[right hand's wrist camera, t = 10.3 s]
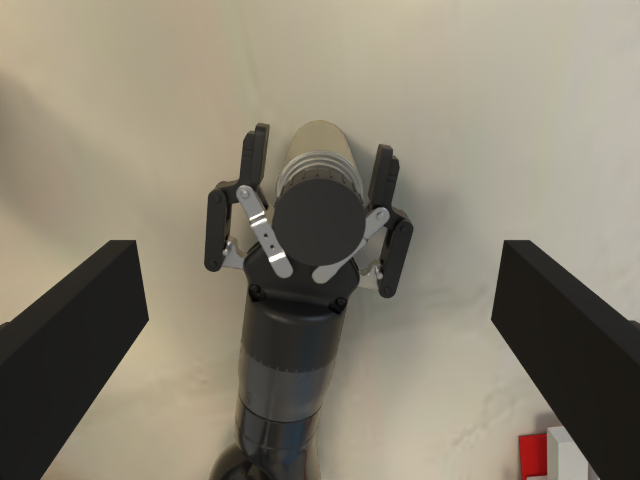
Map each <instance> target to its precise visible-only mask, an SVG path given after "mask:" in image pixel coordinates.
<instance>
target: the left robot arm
mask: <svg viewBox="0 0 640 480" xmlns="http://www.w3.org/2000/svg"><path fill="white" fill-rule="evenodd" d="M269 127H270V125H269V124H263V123H258V124H257V125H256V128H255V131H250V132H248V133H247V135H246V137H245V139H244V141H243V150H242V159H241V169H240V178H239V179H238V180H236V181H231V182H226V181H222V182H220V183H218V184H217V186H216V187H215V189H213V190H212V191H211V192H210V193H209V195H208V207H207V225H206V242H205V260H204V265H205V267H206V269H207V270H209V271H212V272H216V271H218V270H220V268H221V267H228V268H236V269H243V270H244V272H245V274H246V276H247V279H248V289H247V298H246V306H245V314H244V322H243V331H242V339H241V348H240V356H239V368H238V370H239V390H238V398H237V406H236V415H235V423H234V436H235V440H236V443H233V444H232V445H230V446H229V447H227V448H226V449H225V450H224V451H223V452H222V453H221V454H220V456H219V457H218V458H217V460H216V462H215V464H214V466H213V468H212V471H211V474H210V476H209V479H208V480H321V474H320V467H319V461H318V454H317V443H316V432H317V427H318V422H319V418H320V413H321V408H322V404H323V399H324V396H325V393H326V391H327V388H328V386H329V383H330V380H331V376H332V372H333V367H334V363H335V358H336V354H337V349H338V344H339V340H340V335H341V331H342V326H343V321H344V317H345V312H346V308H347V303H348V299H349V297H350V295H351V294H352V292H353V291H354V290H355V289H356V288H357V287H362V288H368V289H374V290H379V293H380V295H381V296H382V297H384V298H391V297H392V296H394V295H395V293H396V289H397V286H398V282H399V279H400V275H401V272H402V268H403V265H404V261H405V257H406V254H407V250H408V247H409V243H410V240H411V236H412V233H413V225H412V224H411V222H410V220H409V218H408V217H407V215H406V213H405V212H403V211H401V210H397V209H396V208H394V207H392V206H391V202H392V197H393V193H394V189H395V185H396V180H397V176H398V172H399V161H398V159H397V158H396V156H394V155H393V149H392V148H391V147H390V146H388V145H382V144H379V146H378V150H377V154H376V159H375V164H374V168H373V173H372V178H371V182H370V187H369V192H368V197H369V199H370V201H369V202H368V203H367V204H366V205H365V206H364V209H365V213H366V228H365V233H364V236H363V239H362V241H361V243H360V244H359V246H358V247H357V249H356V250H355V251H354V252H353V253H352V254H351V255H350V256H348V257H347V258H345V259H344V260H342V261H340V262H338V263H335V264H332V265H327V266H312V265H307V264H303V263H301V262H299V261H297V260H295V259H293V258H292V257H290V256H289V255H288V254H287V253H286V252H285V251H284V250H283V249H282V248H281V246H280V245H279V243H278V241H277V239H276V237H275V234H274V229H273V220H272V218H273V215H274V211H275V209H274V207H273V205H272V204H271V203H270V202H269V201H268V199H267V197H266V195H265V193H264V192H263V190H262V188H261V186H260V183H261V181H262V179H263V177H264V169H265V161H266V152H267V144H268V136H269ZM238 202H240V204H241V206H242V207H243V209H244V211H245V213H246V215H247V216H248V218H249V221H250V225H251V228H252V230H253V231H254V233H255V235H256V237H257V239H258V240H259V241H258V242H257V243H256V244H255V245H254V246H253V247H252V248H251V249H250V250H249V251H248V252H247V253H244V252H242V251H241V250H240V249H239V246H238V241H237V240H236V239H235V238H234V237H231V236H230V224H231V211H232V204H233V203H238ZM382 226H385V227H387V232H386V236H385V240H384V243H383V247H382V251H381V255H380V259H375V260H373V261H372V262H371V263H370V264H369V266H368V268H367V269H365V270H362V271H359V270H358V267H357V265H356V263H355V261H354V259H353V256H354V255H355V254H356V253H357V252H358V251H359V250H360V249H361V248H363V247H364V246H365V244H366V243H367V241H368V239H369V238H370V237H371V236H372V235H373V234H374V233H375V232H376V231H377V230H379V229H380V228H381V227H382Z"/></svg>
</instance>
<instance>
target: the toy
mask: <svg viewBox="0 0 640 480" xmlns="http://www.w3.org/2000/svg"><path fill="white" fill-rule="evenodd" d="M519 445H520V460H521V475H522V480H600V479H599V477H598V476H597V474H596V473H595V472H594V470H593V469H592V467H591V466H590V464H589V463H588V461H587V460H586V458H585V457H584V455H583V454H582V452H581V451H580V450H579V448H578V447H577V445H576V444H575V442H574V441H573V439H572V438H571V436H570V435H569V433H568V432H567V431H566V429H565V428H564V426H558V427H547V434H540V435H531V436H522V437H519Z"/></svg>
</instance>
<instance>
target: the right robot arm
mask: <svg viewBox="0 0 640 480" xmlns="http://www.w3.org/2000/svg"><path fill="white" fill-rule="evenodd" d="M148 321H149V317H148V311H147V305H146V299H145V293H144V287H143V280H142V274H141V268H140V262H139V256H138V250H137V244H136V240H110V241H109V242H107V243H106V244H105V245H104V246H103V247H101V248H100V249H99V250H98V251H96V252H95V253H94V254H93V255H91V256H90V257H89V258H88V259H87V260H85V261H84V262H83V263H82V264H80V265H79V266H78V267H77V268H76V269H74V270H73V271H72V272H71V273H69V274H68V275H67V276H66V277H65V278H63V279H62V280H61V281H60V282H58V283H57V284H56V285H55V286H53V287H52V288H51V289H50V290H49V291H47V292H46V293H45V294H44V295H42V296H41V297H40V298H39V299H38V300H36V301H35V302H34V303H33V304H31V305H30V306H29V307H28V308H27V309H25V310H24V311H23V312H22V313H20V314H19V315H18V316H17V317H15V318H14V319H13V320H12V321H11V322H6V323H4V324H2V325H0V480H40V479H41V477H42V476H43V474H44V473H45V472H46V470H47V469H48V467H49V466H50V464H51V463H52V461H53V460H54V458H55V457H56V455H57V454H58V452H59V451H60V450H61V448H62V447H63V445H64V444H65V442H66V441H67V439H68V438H69V436H70V435H71V433H72V432H73V430H74V429H75V428H76V426H77V425H78V423H79V422H80V420H81V419H82V417H83V416H84V414H85V413H86V411H87V410H88V409H89V407H90V406H91V404H92V403H93V401H94V400H95V398H96V397H97V395H98V394H99V392H100V391H101V389H102V388H103V387H104V385H105V384H106V382H107V381H108V379H109V378H110V376H111V375H112V373H113V372H114V370H115V369H116V367H117V366H118V365H119V363H120V362H121V360H122V359H123V357H124V356H125V354H126V353H127V351H128V350H129V348H130V347H131V345H132V344H133V343H134V341H135V340H136V338H137V337H138V335H139V334H140V332H141V331H142V329H143V328H144V326H145V325H146V323H147V322H148ZM491 321H492V322H493V323H494V325H495V326H496V328H497V329H498V331H499V332H500V334H501V335H502V337H503V338H504V340H505V341H506V343H507V344H508V345H509V347H510V348H511V350H512V351H513V353H514V354H515V356H516V357H517V359H518V360H519V362H520V363H521V365H522V366H523V367H524V369H525V370H526V372H527V373H528V375H529V376H530V378H531V379H532V381H533V382H534V384H535V385H536V387H537V388H538V389H539V391H540V392H541V394H542V395H543V397H544V398H545V400H546V401H547V403H548V404H549V406H550V407H551V409H552V410H553V411H554V413H555V414H556V416H557V417H558V419H559V420H560V422H561V423H562V425H563V426H564V428H565V429H566V431H567V432H568V433H569V435H570V436H571V438H572V439H573V441H574V442H575V444H576V445H577V447H578V448H579V450H580V451H581V452H582V454H583V455H584V457H585V458H586V460H587V461H588V463H589V464H590V466H591V467H592V469H593V470H594V472H595V473H596V474H597V476H598V477H599V479H600V480H640V323H638V322H636V321H628V320H627V319H626V318H625V317H623V316H622V315H621V314H620V313H618V312H617V311H616V310H615V309H613V308H612V307H611V306H610V305H609V304H607V303H606V302H605V301H604V300H602V299H601V298H600V297H599V296H598V295H596V294H595V293H594V292H593V291H591V290H590V289H589V288H588V287H587V286H585V285H584V284H583V283H582V282H580V281H579V280H578V279H577V278H575V277H574V276H573V275H572V274H571V273H569V272H568V271H567V270H566V269H564V268H563V267H562V266H561V265H560V264H558V263H557V262H556V261H555V260H553V259H552V258H551V257H550V256H549V255H547V254H546V253H545V252H544V251H542V250H541V249H540V248H539V247H537V246H536V245H535V244H534V243H533V242H531V241H530V240H504V244H503V250H502V256H501V262H500V268H499V274H498V280H497V286H496V293H495V299H494V305H493V311H492V317H491Z"/></svg>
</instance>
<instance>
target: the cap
mask: <svg viewBox="0 0 640 480" xmlns="http://www.w3.org/2000/svg"><path fill="white" fill-rule="evenodd" d="M362 204H363V201H362V198H361V194H360V193H358V191H357V189H356V188H355V185H354V183H351V182H350V181H349V180H348V179H347V178H346V177H344V175H343V174H342V175H341V174H339V173H337V172H335V171H332V169H330V170H327V169H318V168H316V169H311V170H307V171H305V170H303V172H302V173H300V174H298V175H296V176H294V177H293V176H292V177H291V180H290V181H289V182H287V184H286V185H285V186H284V185H283V187H282V190H281V193H280V195H279V197H277V200H276V203H275V206H274V207H275V211H274V215H273V218H272V220H273V229H274V234H275V237H276V239H277V241H278V243H279V245H280V246H281V248H282V249H283V250H284V251H285V252H286V253H287V254H288V255H289V256H290V257H292V258H293V259H295V260H297V261H299V262H301V263H303V264H307V265H312V266H327V265H332V264H335V263H338V262H340V261H342V260H344V259H345V258H347V257H348V256H350V255H351V254H352V253H353V252H354V251H355V250H356V249H357V247H358V246H359V244H360V243H361V241H362V239H363V236H364V233H365V228H366V213H365V209H364V206H363V205H362Z"/></svg>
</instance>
